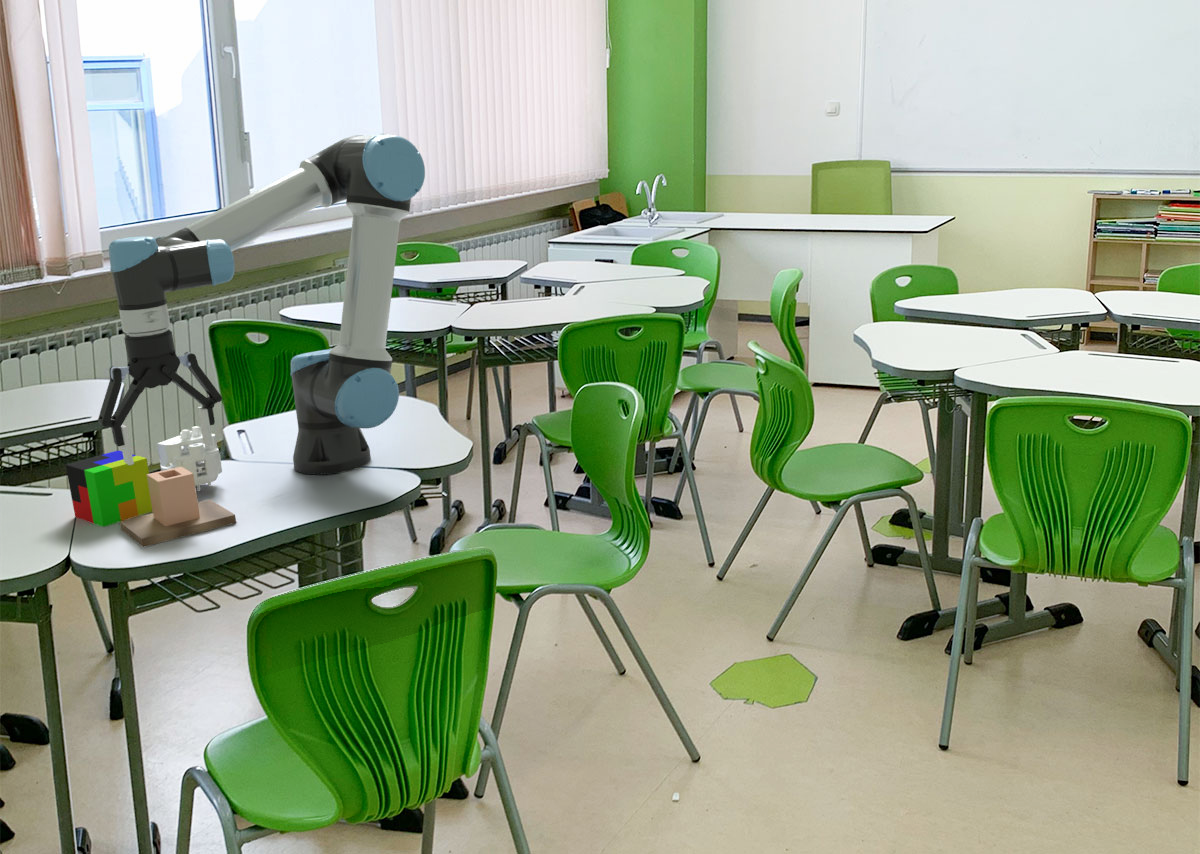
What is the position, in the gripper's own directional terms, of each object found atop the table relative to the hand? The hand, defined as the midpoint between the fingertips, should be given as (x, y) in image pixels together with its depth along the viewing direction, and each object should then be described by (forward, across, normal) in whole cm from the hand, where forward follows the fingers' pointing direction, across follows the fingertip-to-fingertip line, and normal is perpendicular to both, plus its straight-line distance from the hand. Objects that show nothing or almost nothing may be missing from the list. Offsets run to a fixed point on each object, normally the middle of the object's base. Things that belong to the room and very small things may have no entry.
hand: (169, 453), depth 200 cm
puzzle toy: (+13, -7, +16) cm, 22 cm away
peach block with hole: (+12, -1, 0) cm, 12 cm away
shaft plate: (+13, -1, 0) cm, 13 cm away
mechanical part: (+14, +9, +20) cm, 26 cm away
